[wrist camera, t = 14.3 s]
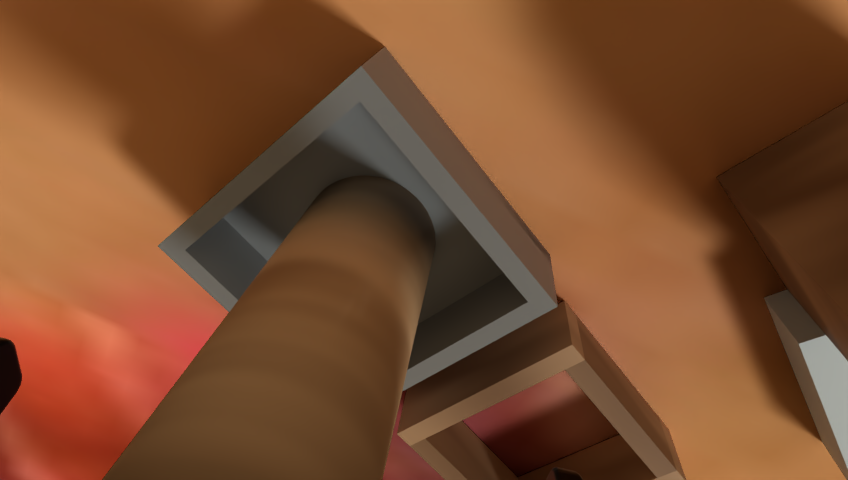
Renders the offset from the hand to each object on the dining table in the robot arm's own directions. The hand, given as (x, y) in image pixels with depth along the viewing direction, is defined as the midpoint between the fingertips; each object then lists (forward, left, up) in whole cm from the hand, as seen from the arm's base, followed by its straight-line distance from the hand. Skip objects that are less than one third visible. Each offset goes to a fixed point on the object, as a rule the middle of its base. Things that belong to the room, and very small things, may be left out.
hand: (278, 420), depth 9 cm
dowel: (0, 0, -7) cm, 7 cm away
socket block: (0, -8, -7) cm, 11 cm away
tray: (0, 0, -7) cm, 7 cm away
